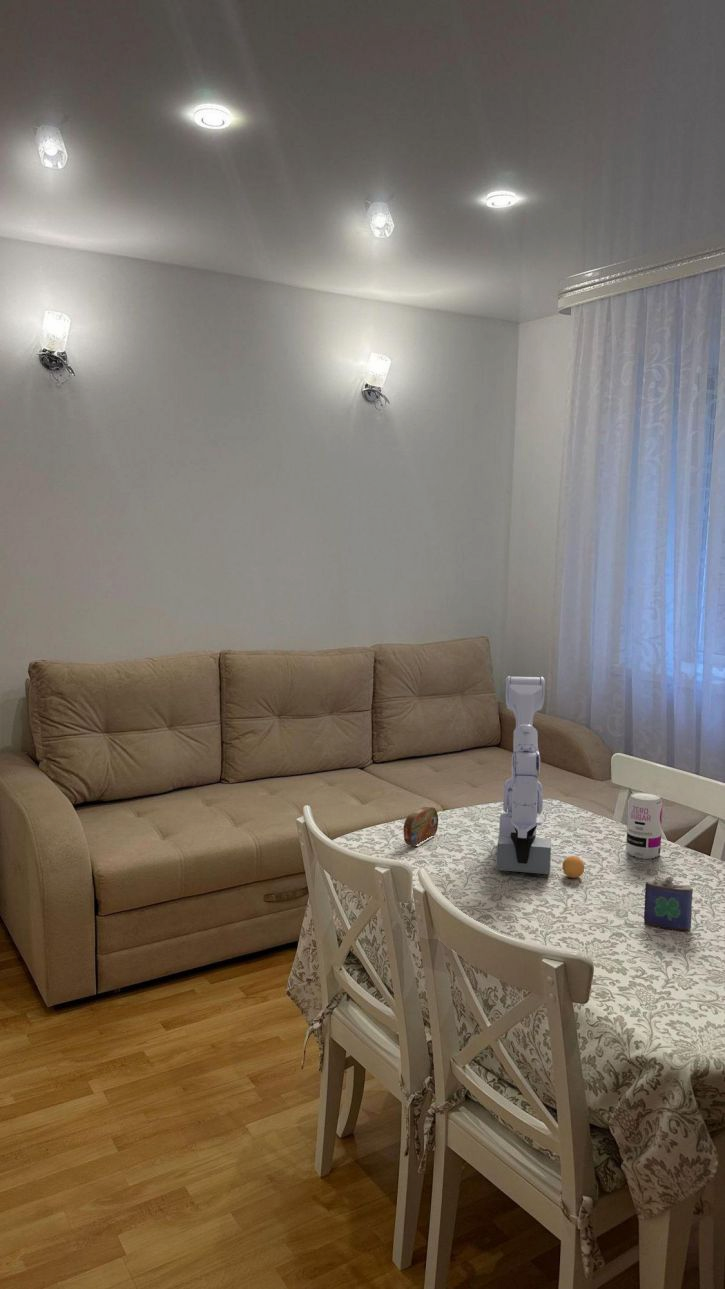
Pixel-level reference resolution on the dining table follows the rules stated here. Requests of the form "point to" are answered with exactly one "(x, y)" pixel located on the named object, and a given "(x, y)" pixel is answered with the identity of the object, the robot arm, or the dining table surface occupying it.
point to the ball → (573, 866)
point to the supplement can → (644, 825)
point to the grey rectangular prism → (536, 860)
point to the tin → (420, 825)
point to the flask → (668, 905)
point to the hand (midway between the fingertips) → (523, 857)
